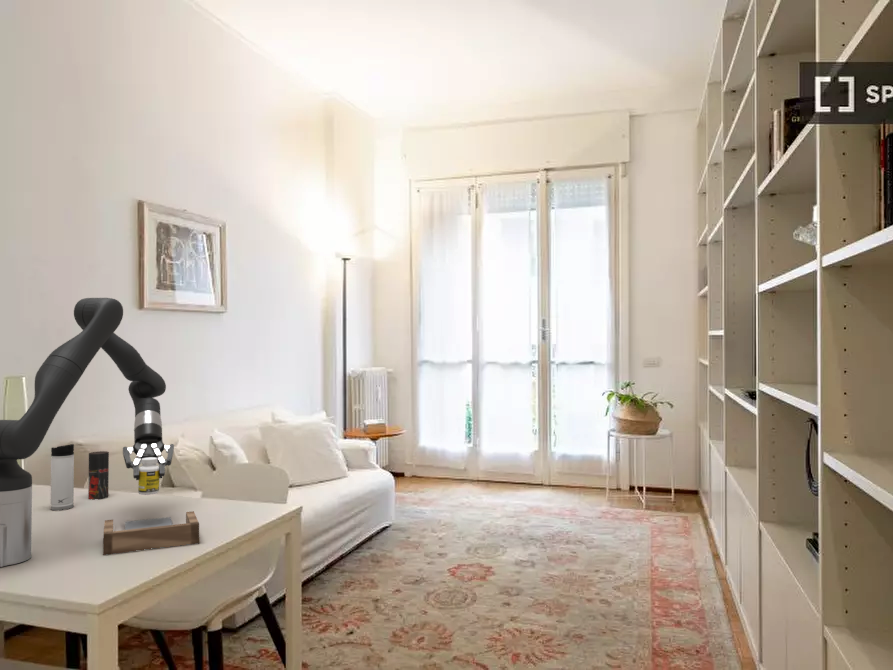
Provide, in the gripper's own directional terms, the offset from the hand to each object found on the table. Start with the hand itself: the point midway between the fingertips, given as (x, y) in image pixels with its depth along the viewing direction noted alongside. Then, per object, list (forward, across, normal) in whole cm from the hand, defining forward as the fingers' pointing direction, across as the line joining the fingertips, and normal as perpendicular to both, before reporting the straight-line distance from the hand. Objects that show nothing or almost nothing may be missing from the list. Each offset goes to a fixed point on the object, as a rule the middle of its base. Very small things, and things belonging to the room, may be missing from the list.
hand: (149, 477), depth 187 cm
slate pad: (+9, 0, +11) cm, 14 cm away
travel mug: (-15, -24, +35) cm, 45 cm away
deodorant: (-23, -14, +44) cm, 51 cm away
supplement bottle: (+2, 0, +5) cm, 5 cm away
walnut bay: (+21, 0, -1) cm, 21 cm away
